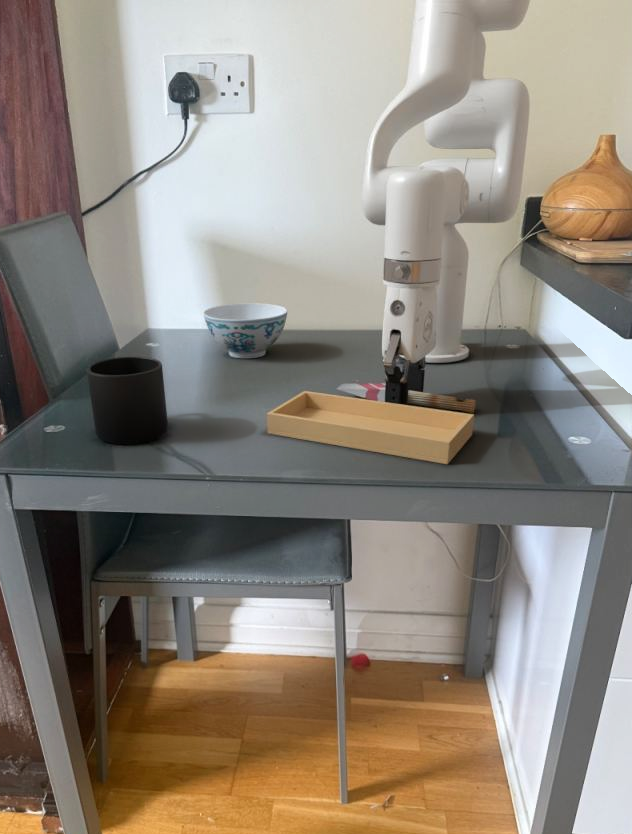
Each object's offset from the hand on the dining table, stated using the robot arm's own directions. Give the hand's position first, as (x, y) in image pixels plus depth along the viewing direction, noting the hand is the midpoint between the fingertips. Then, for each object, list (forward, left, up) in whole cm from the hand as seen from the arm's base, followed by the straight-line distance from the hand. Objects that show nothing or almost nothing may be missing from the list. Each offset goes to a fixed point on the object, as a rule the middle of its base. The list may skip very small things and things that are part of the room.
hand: (404, 400), depth 103 cm
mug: (+25, -29, -1) cm, 38 cm away
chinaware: (-16, -36, -1) cm, 39 cm away
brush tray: (+13, 0, -1) cm, 13 cm away
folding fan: (0, 0, -1) cm, 1 cm away
